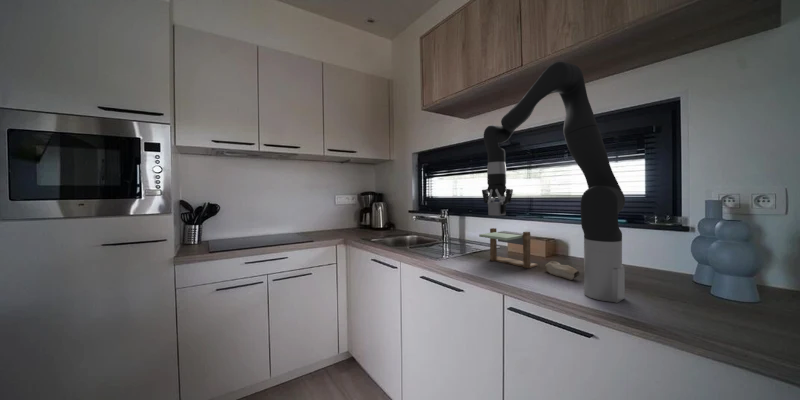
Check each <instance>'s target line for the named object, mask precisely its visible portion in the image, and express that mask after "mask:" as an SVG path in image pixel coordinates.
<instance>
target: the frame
mask: <svg viewBox="0 0 800 400" xmlns="http://www.w3.org/2000/svg"><path fill="white" fill-rule="evenodd" d="M493 232H497V228H496V227H495V228H494V227H493V228H492V227H491V228H489V233H493ZM522 233H523V235H522V237H523V245H522V252H523V253H522V255H523V256H522V260H519V259H514V258H509V257H503V256H498V255H497V254H498V253H497V252H498V251H497V249H498V246H497V243H498V239H492V238H489V243H490V244H489V247H490V248H489V253H490V254H489V257H490V258H489V260H490V261H491V262H499V263H504V264H509V265H514V266H519V267H522V268H524V269H531V268H534V267H537V266H538V263H534V262H531V231H523V232H522ZM506 234H507V233H506Z"/></svg>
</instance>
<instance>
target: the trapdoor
mask: <svg viewBox="0 0 800 400" xmlns="http://www.w3.org/2000/svg"><path fill="white" fill-rule="evenodd" d="M506 233H507V234H506ZM522 235H523V232H517V231H516V232H515V231H507V230H501V231H496V232H493V233H490V232H486V233H479V234H478V236H479V238H484V239H490V238H492V239H497V242H500V243H501V242H502V243H508V244H515V245H519V246H520V245H521V246H523V237H522Z"/></svg>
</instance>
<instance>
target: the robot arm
mask: <svg viewBox="0 0 800 400" xmlns="http://www.w3.org/2000/svg"><path fill="white" fill-rule="evenodd" d="M553 93H555V94H559V96H560V98H561V101H562V103H563V105H564V109H565V116H564V122H563V131H562V132H563V136H564V140H565V143H566V146H567V149H568V151H569V154H570V155H571V157H572V158H573V160H574V162H575V163H576V164H577V166H578V168H579V169H580V170H581V172H582V174H583V175H584V177H585V181H586V184H587V189H586V190H585V191H584V192H583V194H582V196H581V198H580V220H581V221H580V223H581V225H580V226H581V229H582V232H583V290H584V291H583V292H584V293H583V294H584V295H585V296H586V297H588V298H591V299H594V300H598V301H603V302H610V303H611V302H612V303H615V304H616V303H617V304H618V303H620V302H621V301H623V300H625V298H626V295H625V294H626V293H625V292H626V291H625V285H626V284H625V283H626V282H625V277H626V275H625V273H626V272H625V270H626V269H625V267H626V266H625V265H623V232H622V230H621V229H620V226H619V213H621V212H622V210H623V209H624V207H625V205H626V197H625V194H624V193H623V190H622V188H621V186H620V185H619V182H618V180H617V178H616V177H615V174H614V172H613V170H612V166H611V164H610V161H609V156H608V152H607V149H606V147H605V144H604V143H605V142H604V141H603V139H604V138H603V136H602V133H601V130H600V128H599V125H598V122H597V120H596V118H595V114H594V112H593V109H592V106H591V103H590V100H589V96H588V93H587V88H586V82H585V79H584V74H583V71H582V69H581V68H580V66H578V65H576V64H575V63H574V64H573V63H569V62H566V61H555V62H553V63H551V64H550V65H549V66H548V67H546V68H545V70H544V71H543V72H542V73H541V75H540V76H538V78H537V80H536V81H535V82H534V83H533V84H532V86H530V88H529V90H528V91H527V92H525V95H524V96H523V97H522V98H521V99H520V100H519V102H518V103H516V104H515V105H514V106H513V107H512V108H511V109H510V110H508V112H506V114H504V115H503V117H502V118H501V121H500V124H501V125H500V126H499V125H493V124H492V125H488V126H487V127H486V128H485V129H484V132H483V142H484V145H485V148H486V152H487V167H486V170H487V177H486V178H487V188H486V189H482V190H481V194H482V198H483V202H484V204H487V205H488V202H495V200H496V198H497V199H498V200H499V202H500V203H501V205H500V210H501V214H505V212H506V213H507V204H511V201H512V197H513V192H514V189H513V188H508V187H507V166H506V150H505V149H504V148H502V147H500V144H503V143H505V142H507V141H508V140H510V138H511V137H512V135H513V134H514V132H515V131H516V130H517V128H519V127H520V126H522V125H523V124H524V123H525V122H526V121H528V119H529V118H530V116H532V114H533V112H534V111H535V108H536V106H538V103H540V102H541V101H542V100H543V99H544V98H546V97H547V96H549V95H550V94H553Z"/></svg>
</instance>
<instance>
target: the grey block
mask: <svg viewBox="0 0 800 400" xmlns="http://www.w3.org/2000/svg"><path fill="white" fill-rule="evenodd" d="M500 205H501V203H500V201H494V202H488V204H487V208H488V209H487V211H488V214H487V215H488V216H499V217H500V216H506V215H507V214H506V213H507V211H506V212H505V214H501V210H500Z"/></svg>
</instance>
